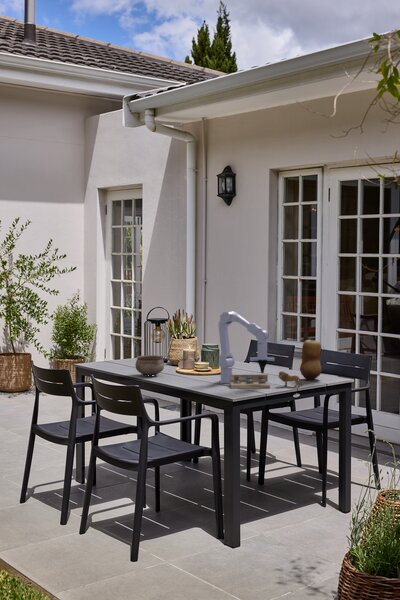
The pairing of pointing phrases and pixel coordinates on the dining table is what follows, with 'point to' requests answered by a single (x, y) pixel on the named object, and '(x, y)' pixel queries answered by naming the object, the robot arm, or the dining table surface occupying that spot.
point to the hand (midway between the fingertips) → (262, 372)
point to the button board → (244, 378)
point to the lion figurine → (289, 378)
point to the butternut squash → (311, 359)
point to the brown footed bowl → (149, 364)
